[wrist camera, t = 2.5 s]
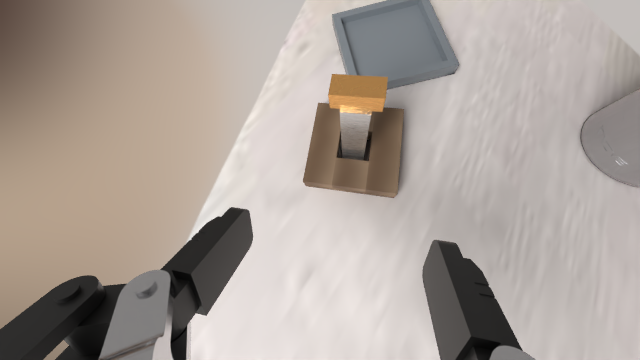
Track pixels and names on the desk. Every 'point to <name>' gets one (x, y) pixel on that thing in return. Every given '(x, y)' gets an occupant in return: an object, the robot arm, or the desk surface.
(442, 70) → the tray
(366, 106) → the key
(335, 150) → the socket plate
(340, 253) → the desk surface
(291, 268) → the desk surface
